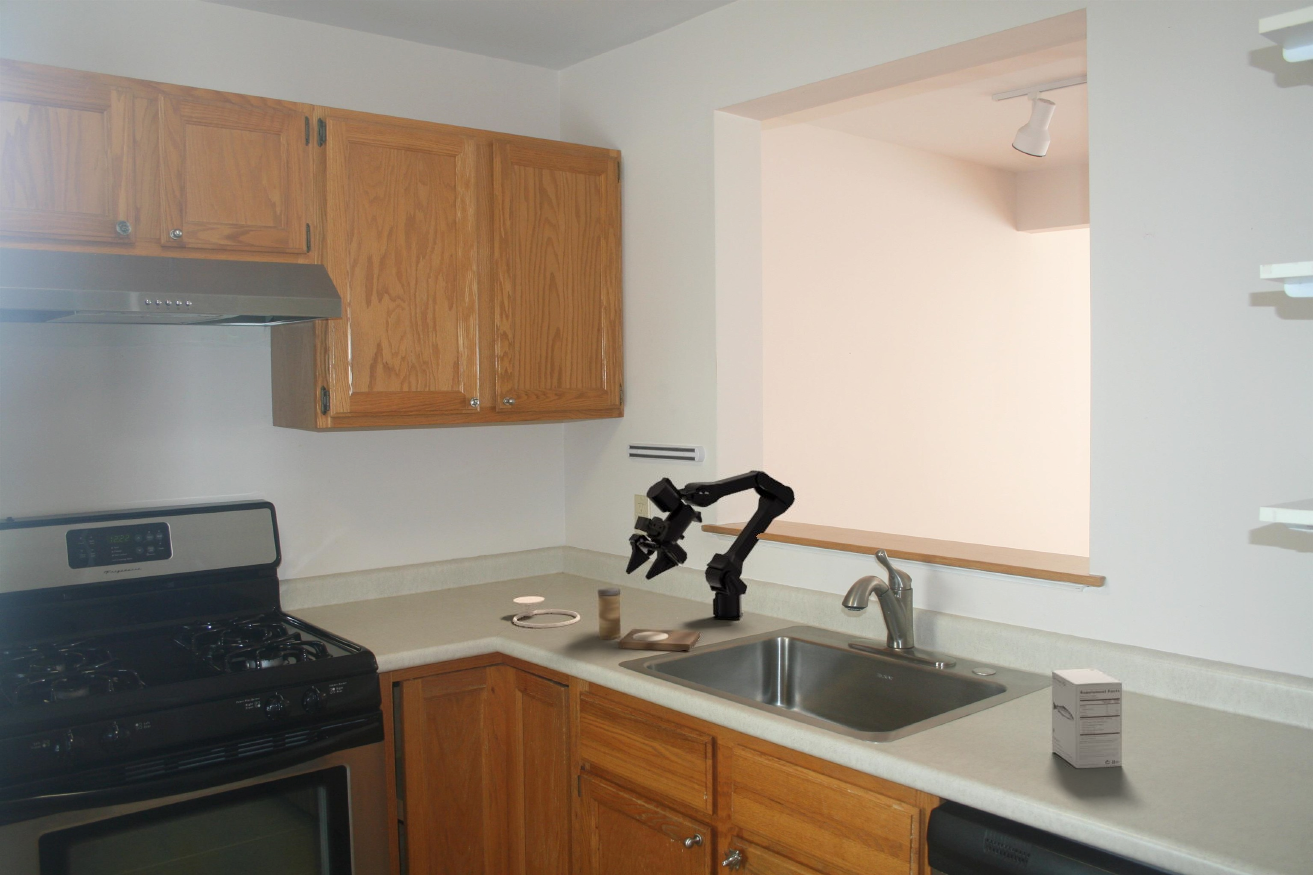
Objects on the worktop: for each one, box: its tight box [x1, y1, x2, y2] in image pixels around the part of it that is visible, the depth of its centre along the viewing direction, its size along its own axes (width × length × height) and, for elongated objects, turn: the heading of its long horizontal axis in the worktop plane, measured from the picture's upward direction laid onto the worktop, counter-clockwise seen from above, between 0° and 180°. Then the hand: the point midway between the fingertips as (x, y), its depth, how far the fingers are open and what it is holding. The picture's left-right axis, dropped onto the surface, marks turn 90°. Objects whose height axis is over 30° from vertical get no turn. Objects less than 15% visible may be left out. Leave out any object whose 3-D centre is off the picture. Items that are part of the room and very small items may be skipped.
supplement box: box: [1051, 668, 1123, 769], centre depth 146 cm, size 7×7×13 cm
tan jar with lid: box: [597, 587, 622, 640], centre depth 227 cm, size 5×5×11 cm
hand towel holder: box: [512, 595, 581, 629], centre depth 247 cm, size 17×4×21 cm
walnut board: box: [618, 628, 701, 651], centre depth 221 cm, size 16×12×2 cm
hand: (636, 575), depth 231 cm, fingers open, 9 cm apart
